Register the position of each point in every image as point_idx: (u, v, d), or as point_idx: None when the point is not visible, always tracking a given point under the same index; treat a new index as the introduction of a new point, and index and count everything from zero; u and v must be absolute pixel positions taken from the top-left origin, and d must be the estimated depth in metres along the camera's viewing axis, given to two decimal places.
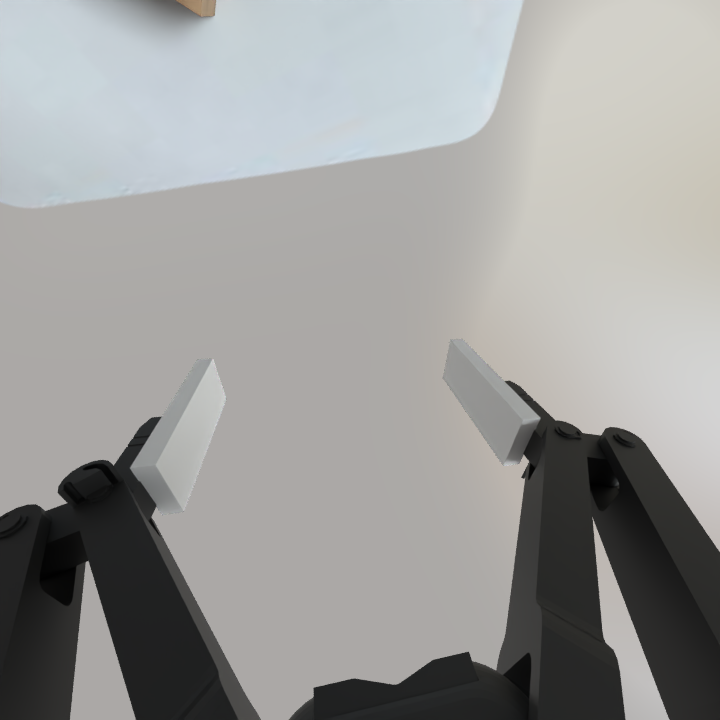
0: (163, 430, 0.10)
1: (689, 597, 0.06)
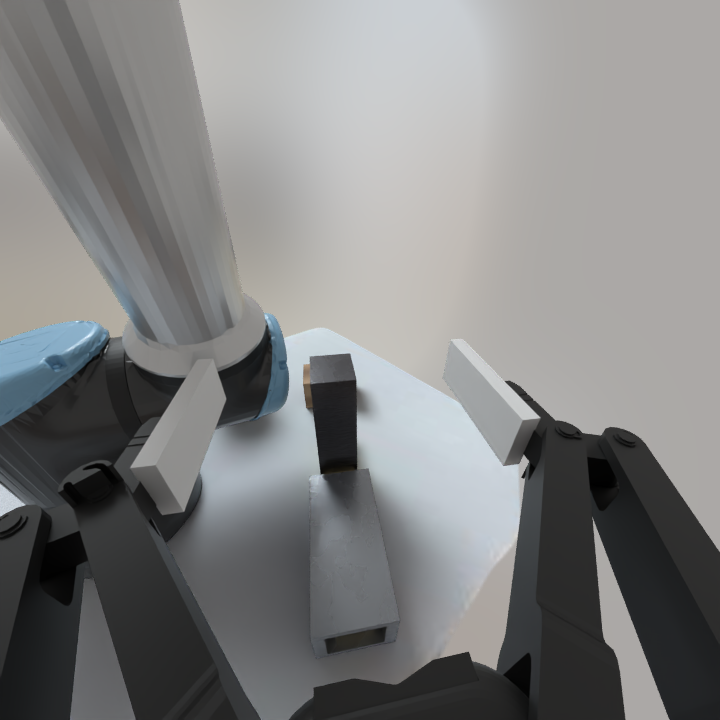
0: (163, 430, 0.10)
1: (688, 597, 0.06)
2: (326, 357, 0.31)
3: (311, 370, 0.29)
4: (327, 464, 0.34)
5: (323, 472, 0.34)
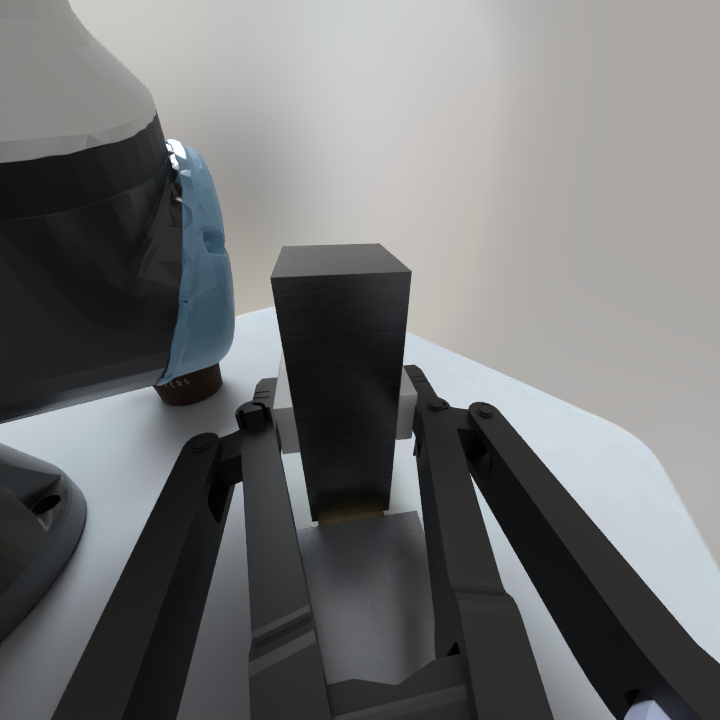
0: (285, 384, 0.12)
1: (564, 549, 0.07)
2: (323, 247, 0.13)
3: (281, 260, 0.11)
4: (326, 502, 0.15)
5: (318, 518, 0.16)
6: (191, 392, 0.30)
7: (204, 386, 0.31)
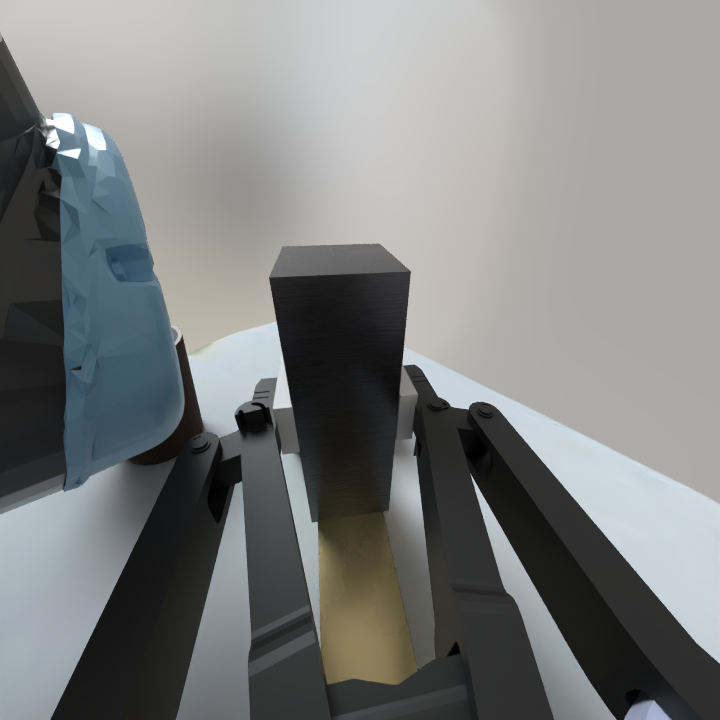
0: (284, 384, 0.12)
1: (564, 548, 0.07)
2: (323, 247, 0.13)
3: (281, 260, 0.11)
4: (325, 503, 0.15)
5: (317, 518, 0.16)
6: (161, 449, 0.24)
7: (178, 440, 0.25)
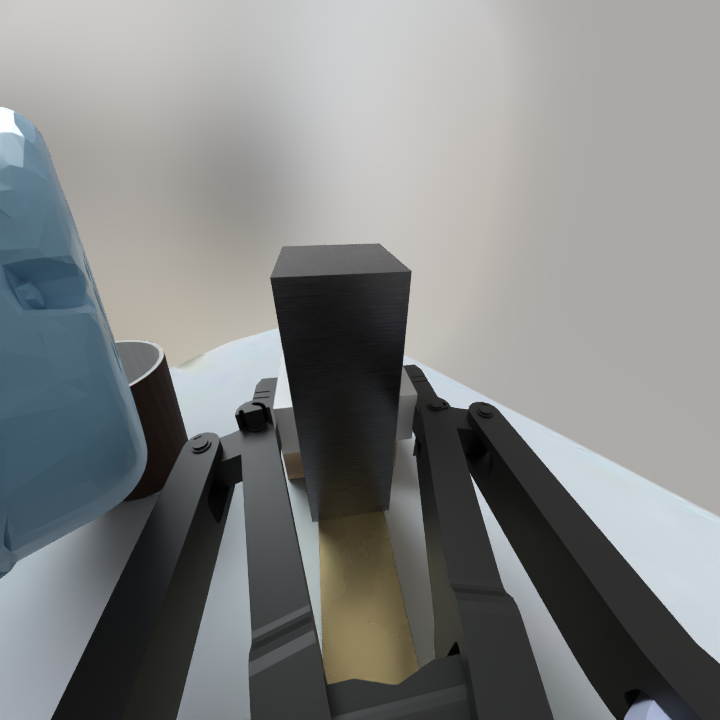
0: (285, 384, 0.12)
1: (563, 548, 0.07)
2: (323, 247, 0.13)
3: (281, 260, 0.11)
4: (326, 502, 0.15)
5: (318, 518, 0.16)
6: (141, 484, 0.21)
7: (161, 472, 0.22)
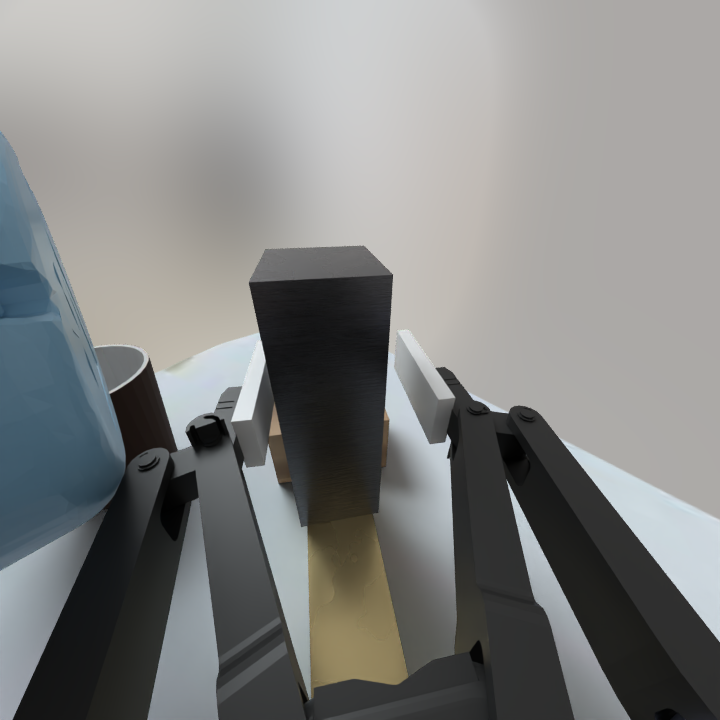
0: (248, 394, 0.12)
1: (600, 558, 0.07)
2: (307, 250, 0.12)
3: (262, 264, 0.10)
4: (314, 507, 0.15)
5: (307, 522, 0.16)
6: None
7: None
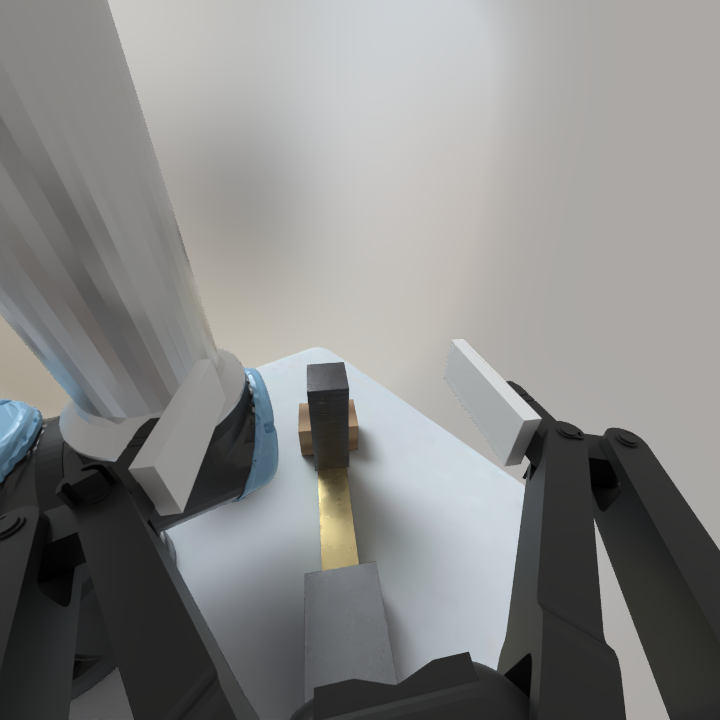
0: (162, 431, 0.10)
1: (690, 598, 0.06)
2: (322, 366, 0.34)
3: (308, 378, 0.32)
4: (321, 462, 0.37)
5: (317, 469, 0.38)
6: None
7: None
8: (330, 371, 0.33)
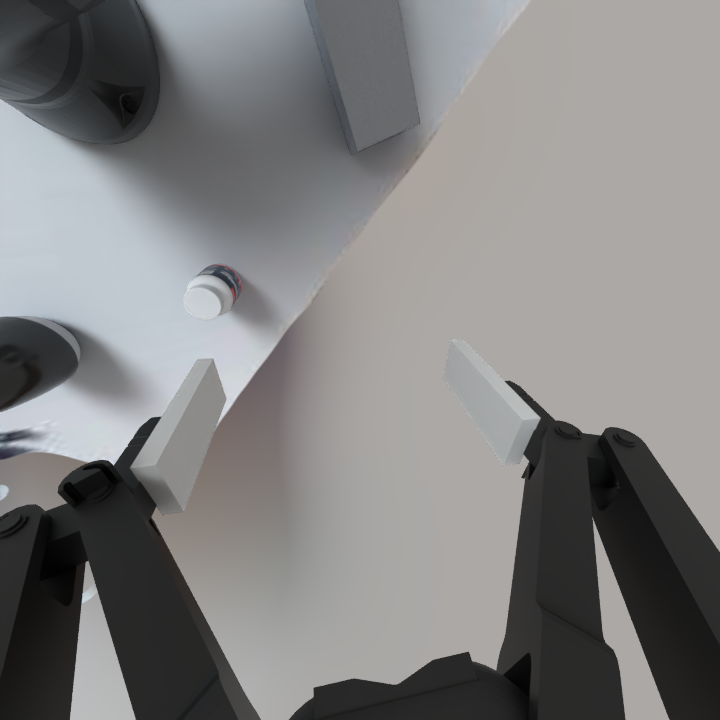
0: (163, 430, 0.10)
1: (688, 597, 0.06)
2: None
3: None
4: None
5: None
6: None
7: None
8: None
